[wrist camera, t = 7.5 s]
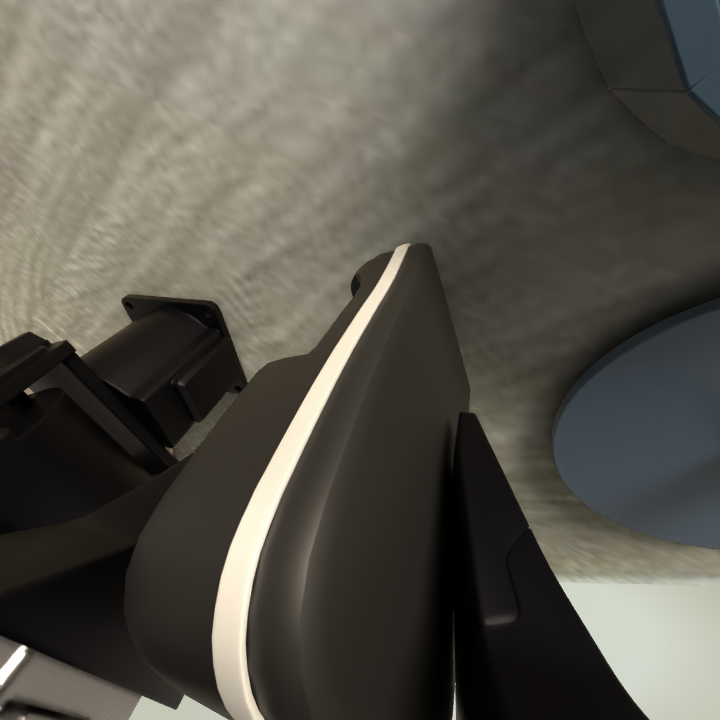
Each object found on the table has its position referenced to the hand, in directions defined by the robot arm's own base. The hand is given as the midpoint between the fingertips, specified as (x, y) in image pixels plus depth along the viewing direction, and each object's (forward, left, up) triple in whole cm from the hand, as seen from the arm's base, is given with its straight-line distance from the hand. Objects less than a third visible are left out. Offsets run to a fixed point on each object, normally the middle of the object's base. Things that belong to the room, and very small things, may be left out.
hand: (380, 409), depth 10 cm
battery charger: (0, 0, -5) cm, 5 cm away
